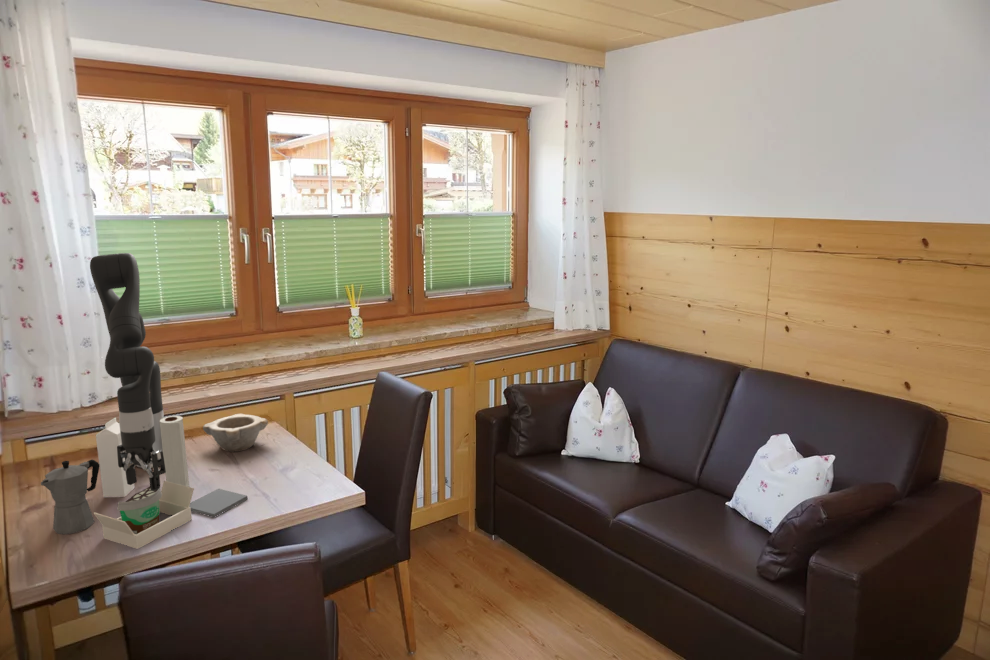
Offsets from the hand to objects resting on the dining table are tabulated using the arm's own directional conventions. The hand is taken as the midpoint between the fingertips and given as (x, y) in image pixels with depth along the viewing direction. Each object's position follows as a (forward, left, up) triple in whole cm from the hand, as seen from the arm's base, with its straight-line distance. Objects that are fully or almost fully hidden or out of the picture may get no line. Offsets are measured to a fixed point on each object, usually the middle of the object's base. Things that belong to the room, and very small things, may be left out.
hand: (143, 486), depth 169 cm
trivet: (+5, +18, -12) cm, 22 cm away
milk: (-26, +11, -12) cm, 31 cm away
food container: (0, 0, -12) cm, 12 cm away
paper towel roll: (-13, +20, -12) cm, 27 cm away
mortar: (-22, +52, -12) cm, 58 cm away
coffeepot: (-19, -6, -12) cm, 23 cm away
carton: (0, 0, -12) cm, 12 cm away
